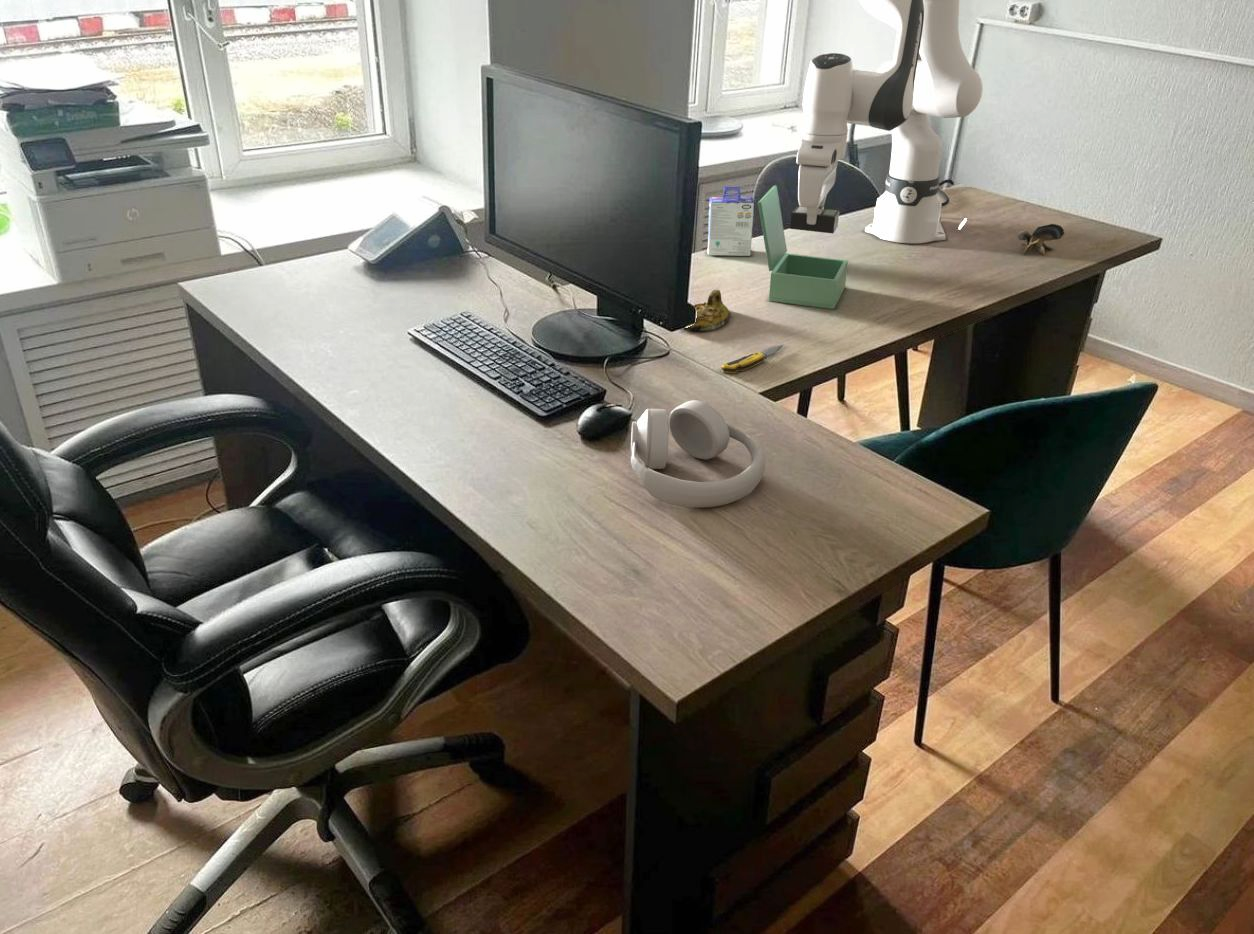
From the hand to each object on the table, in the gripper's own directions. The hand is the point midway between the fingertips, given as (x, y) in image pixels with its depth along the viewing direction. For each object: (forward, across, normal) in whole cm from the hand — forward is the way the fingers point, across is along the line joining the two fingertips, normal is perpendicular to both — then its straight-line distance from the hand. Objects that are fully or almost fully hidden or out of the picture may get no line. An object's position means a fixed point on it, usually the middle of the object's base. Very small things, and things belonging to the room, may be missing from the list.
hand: (814, 219), depth 196 cm
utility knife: (+16, +36, -2) cm, 40 cm away
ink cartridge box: (+16, -21, -22) cm, 34 cm away
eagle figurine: (+15, -47, +44) cm, 66 cm away
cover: (+3, 0, -8) cm, 8 cm away
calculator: (+2, 0, 0) cm, 2 cm away
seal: (+16, +21, -16) cm, 31 cm away
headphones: (+16, +78, -1) cm, 80 cm away
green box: (+15, 0, 0) cm, 15 cm away
